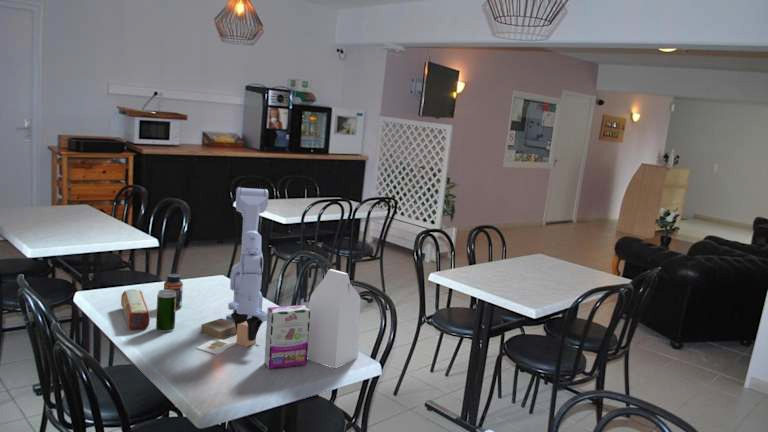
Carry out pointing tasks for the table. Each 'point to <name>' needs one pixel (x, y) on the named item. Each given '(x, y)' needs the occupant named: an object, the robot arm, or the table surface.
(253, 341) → the terracotta block
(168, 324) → the beer can
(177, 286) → the supplement bottle
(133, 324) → the snack package
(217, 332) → the walnut slab
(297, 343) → the candy bar box
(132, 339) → the table surface
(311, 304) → the milk
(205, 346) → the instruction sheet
